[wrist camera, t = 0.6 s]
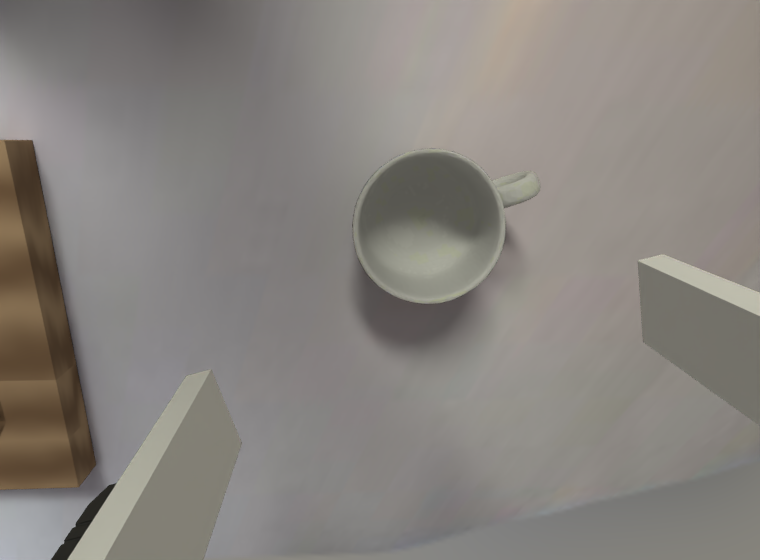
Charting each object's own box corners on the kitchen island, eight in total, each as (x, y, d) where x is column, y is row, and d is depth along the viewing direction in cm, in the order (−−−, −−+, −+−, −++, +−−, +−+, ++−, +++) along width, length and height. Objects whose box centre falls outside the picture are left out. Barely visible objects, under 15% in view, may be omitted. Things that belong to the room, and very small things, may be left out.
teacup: (366, 284, 41) (370, 318, 33) (339, 160, 38) (336, 167, 30) (519, 252, 41) (558, 278, 33) (506, 125, 38) (546, 123, 30)
